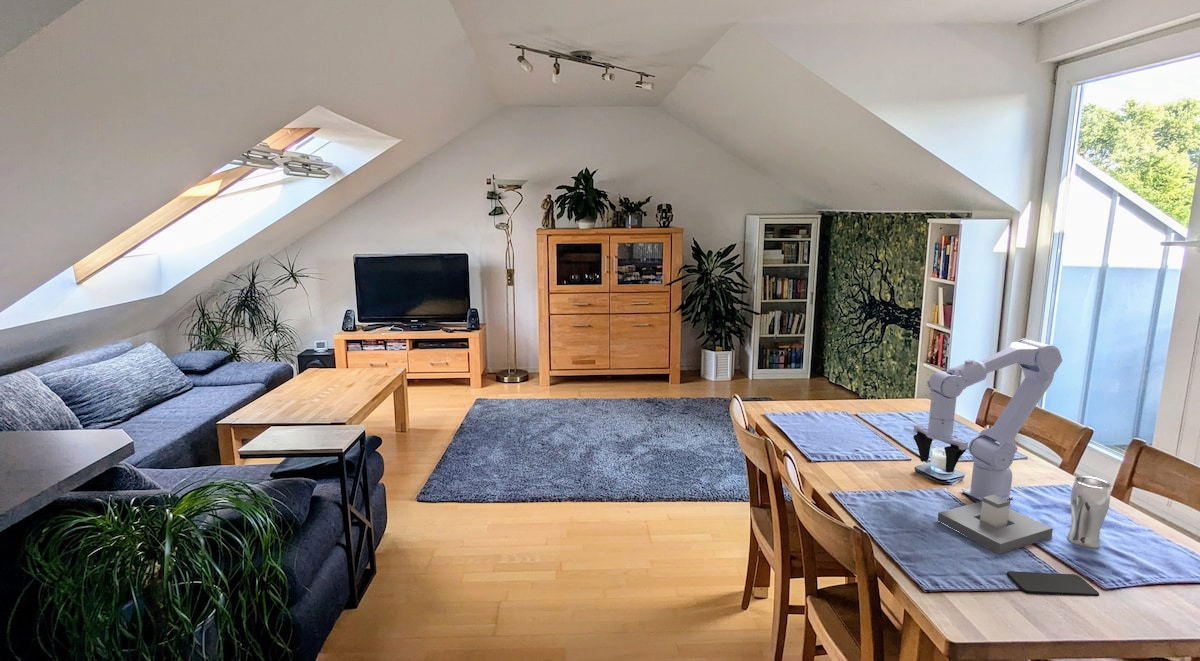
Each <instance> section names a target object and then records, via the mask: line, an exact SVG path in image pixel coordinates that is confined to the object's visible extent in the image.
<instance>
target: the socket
mask: <svg viewBox="0 0 1200 661" xmlns="http://www.w3.org/2000/svg"><path fill="white" fill-rule="evenodd" d="M981 507H982V501H981V500H979V501H977V502H973V503H970V504H966V505H962V506H957V507H955V508H951V509H947V510H943V511H938V514H937V522H938V521H940V522H942V523H944V524H946V525H948V526H949V527H951V528H953V529H955V530H957V531H959V532H960V533H962V534H964V535H965V536H964V535H963V536H964V537H966V536H967V537H968V539H969V538H970V539H969V540H971V539H972V541H973V540H974V541H973V542H975V543H978V544H979V545H981V546H983V547H985V548H987V549H988V548H989V550H990V549H991V550H990V551H992V550H993V551H992V552H994V553H997V554H998V555H1000V554H1004V552H1005V553H1007V552H1011V551H1014V550H1017V549H1020V548H1023V547H1026V546H1029V545H1033V544H1036V543H1039V542H1040V543H1041V542H1042V541H1046V540H1049V539H1052V537H1053V536H1052V535H1053V529H1054V527H1052V526H1049V525H1047V524H1045V523H1042V522H1040V521H1038V520H1035V519H1033V518H1031V517H1029V516H1026V515H1024V514H1022V513H1020V512H1018V511H1015V510H1013V509H1011V508H1009V514H1008V521H1007V526H1005V527H1002V528H998V529H997V528H995V527H993V526H991V525H989V524H987V523H985V522H983V521H981V520H980V516H981ZM960 533H959V534H960ZM962 534H961V535H962ZM967 537H966V538H967Z"/></svg>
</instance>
